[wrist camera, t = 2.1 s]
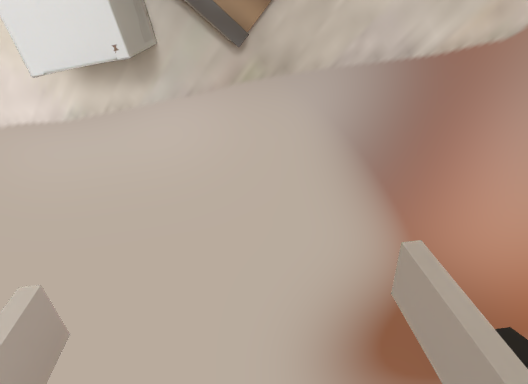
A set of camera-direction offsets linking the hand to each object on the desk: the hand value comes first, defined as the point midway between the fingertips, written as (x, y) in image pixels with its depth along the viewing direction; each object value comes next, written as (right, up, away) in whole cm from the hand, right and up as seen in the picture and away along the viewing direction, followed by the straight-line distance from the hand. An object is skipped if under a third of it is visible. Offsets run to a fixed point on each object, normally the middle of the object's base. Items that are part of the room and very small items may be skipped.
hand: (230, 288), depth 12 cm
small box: (-14, +21, +20) cm, 32 cm away
